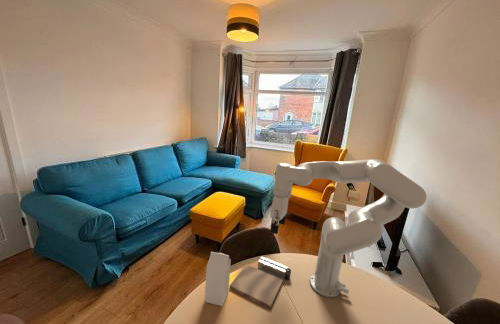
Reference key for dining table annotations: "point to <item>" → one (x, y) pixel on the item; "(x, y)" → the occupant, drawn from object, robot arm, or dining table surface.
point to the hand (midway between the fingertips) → (277, 228)
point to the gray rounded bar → (274, 268)
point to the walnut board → (257, 285)
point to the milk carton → (217, 278)
